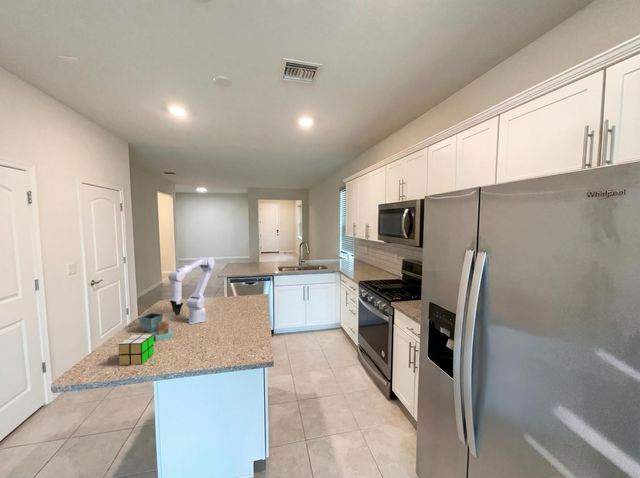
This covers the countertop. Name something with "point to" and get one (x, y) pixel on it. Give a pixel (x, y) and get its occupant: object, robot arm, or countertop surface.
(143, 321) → the flower pot
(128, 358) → the puzzle cube
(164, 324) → the walnut block
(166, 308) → the countertop surface
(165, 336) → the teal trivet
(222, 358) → the countertop surface
